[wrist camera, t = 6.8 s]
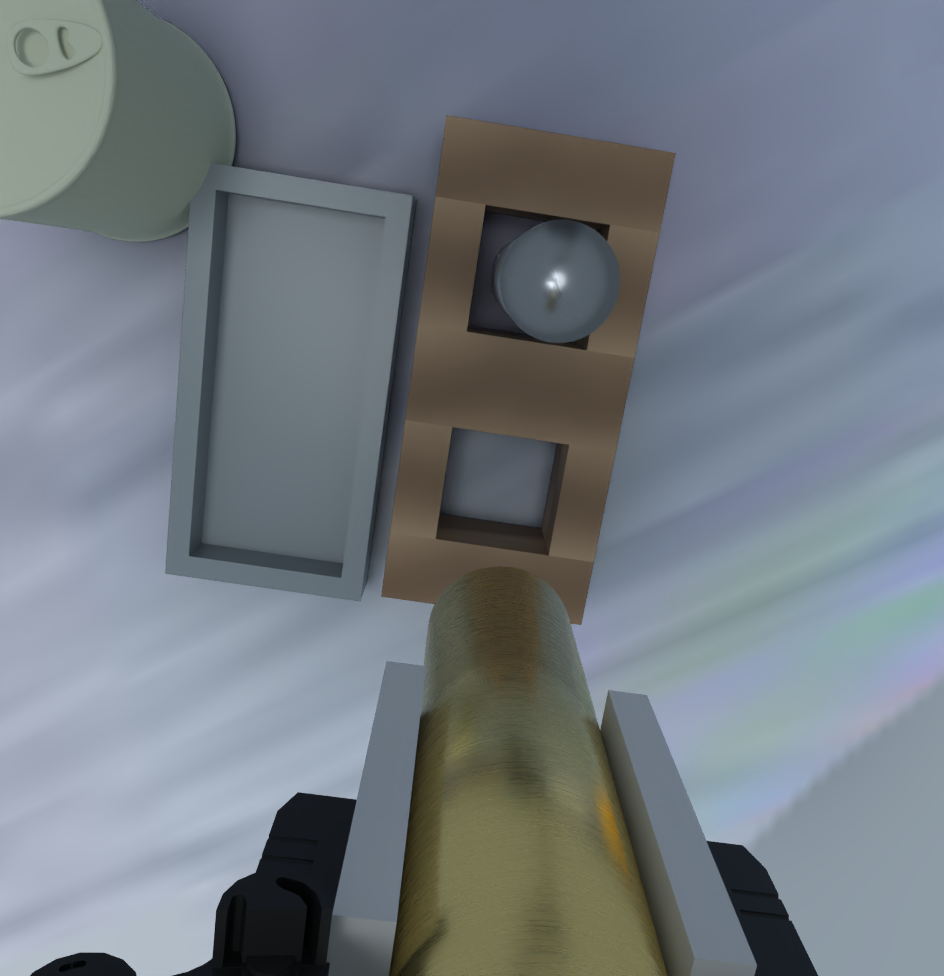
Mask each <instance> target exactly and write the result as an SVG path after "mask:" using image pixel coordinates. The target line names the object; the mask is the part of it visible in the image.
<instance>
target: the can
mask: <svg viewBox="0 0 944 976" xmlns="http://www.w3.org/2000/svg"><path fill="white" fill-rule="evenodd" d="M235 144H236V129H235V118H234V112H233V108H232V104H231V100H230V97H229V94H228V91H227V88H226V86H225V84H224V81H223V79H222V78H221V76H220V74H219V72H218V70H217V68H216V67H215V65H214V64H213V62H212V61H211V59H210V58H209V57H208V56H207V54H206V53H205V52H204V51H203V49H202V48H201V47H200V46H199V45H198V44H197V43H196V42H195V41H194V40H193V39H191V38H190V37H189V36H188V35H187V34H185V33H184V32H183V31H181V30H180V29H178V28H177V27H175V26H174V25H172V24H170V23H168V22H166V21H165V20H163V19H160V18H158V17H157V16H155V15H154V14H153V13H151V12H150V11H149V10H148V9H146V8H145V7H144V6H143V5H141V4H140V3H139V2H137V1H136V0H0V219H6V220H14V221H22V222H29V223H36V224H43V225H50V226H57V227H64V228H71V229H78V230H84V231H89V232H94V233H97V234H99V235H102V236H105V237H108V238H112V239H116V240H121V241H129V242H145V241H154V240H159V239H163V238H166V237H169V236H172V235H175V234H177V233H179V232H181V231H183V230H185V229H187V228H188V227H189V213H190V201H191V200H192V199H193V198H194V196H195V195H196V194H197V192H198V191H199V189H200V187H201V186H202V184H203V182H204V180H205V178H206V176H207V173H208V171H209V168H210V166H211V163H214V164H221V165H227V166H232V164H233V159H234V154H235Z"/></svg>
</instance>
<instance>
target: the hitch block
mask: <svg viewBox="0 0 944 976" xmlns="http://www.w3.org/2000/svg"><path fill="white" fill-rule="evenodd" d="M674 158H675V153H671V152H665V151H659V150H653V149H647V148H641V147H635V146H629V145H623V144H617V143H611V142H605V141H599V140H593V139H587V138H581V137H575V136H569V135H563V134H557V133H551V132H545V131H539V130H533V129H527V128H521V127H515V126H509V125H503V124H497V123H491V122H485V121H479V120H472V119H466V118H460V117H454V116H448V115H447V116H446V123H445V130H444V138H443V145H442V152H441V160H440V167H439V175H438V182H437V189H436V197H435V204H434V211H433V219H432V226H431V234H430V241H429V248H428V256H427V263H426V270H425V278H424V285H423V293H422V300H421V307H420V315H419V322H418V329H417V337H416V344H415V352H414V359H413V366H412V374H411V381H410V388H409V396H408V403H407V411H406V418H405V425H404V433H403V440H402V447H401V455H400V462H399V470H398V477H397V484H396V492H395V499H394V506H393V514H392V521H391V528H390V536H389V543H388V551H387V558H386V565H385V573H384V580H383V587H382V595H381V596H382V597H389V598H396V599H403V600H410V601H417V602H424V603H431V604H435V603H436V602H437V600H438V598H439V597H440V596H441V594H442V593H443V592H444V591H445V590H446V588H447V587H448V586H449V585H451V584H452V583H453V582H454V581H456V580H457V579H459V578H460V577H462V576H464V575H466V574H468V573H470V572H472V571H475V570H478V569H482V568H487V567H498V566H502V567H512V568H517V569H521V570H524V571H527V572H529V573H532V574H534V575H536V576H537V577H539V578H541V579H542V580H544V581H545V582H546V583H547V584H548V585H550V586H551V587H552V588H553V589H554V591H555V592H556V593H557V594H558V596H559V597H560V599H561V600H562V602H563V604H564V606H565V608H566V611H567V614H568V617H569V620H570V623H571V624H578V625H581V623H582V618H583V613H584V608H585V603H586V598H587V593H588V588H589V583H590V578H591V573H592V568H593V563H594V558H595V553H596V548H597V543H598V538H599V533H600V528H601V523H602V518H603V513H604V508H605V503H606V498H607V493H608V488H609V483H610V478H611V473H612V468H613V463H614V458H615V453H616V448H617V443H618V438H619V433H620V428H621V423H622V418H623V413H624V408H625V403H626V398H627V393H628V388H629V383H630V378H631V373H632V368H633V363H634V358H635V353H636V348H637V343H638V338H639V333H640V328H641V323H642V318H643V313H644V308H645V303H646V298H647V293H648V288H649V283H650V278H651V273H652V268H653V263H654V258H655V253H656V248H657V243H658V238H659V233H660V228H661V223H662V218H663V213H664V208H665V203H666V198H667V193H668V188H669V183H670V178H671V173H672V168H673V163H674ZM485 212H491V213H498V214H504V215H510V216H516V217H522V218H528V219H535V220H541V221H552V220H572V221H576V222H580V223H582V224H585V225H587V226H589V227H591V228H593V229H596V231H597V232H598V233H599V234H600V235H601V236H602V237H603V238H604V239H605V240H606V241H607V242H608V244H609V245H610V246H611V248H612V250H613V252H614V254H615V256H616V259H617V262H618V266H619V271H620V288H619V294H618V298H617V301H616V303H615V306H614V308H613V310H612V312H611V314H610V315H609V316H608V318H607V319H606V321H605V322H604V323H603V324H602V325H601V326H600V327H599V328H597V329H596V330H595V331H594V332H592V333H591V334H589V335H588V336H585V337H583V338H581V339H578V340H576V341H575V342H566V343H551V342H546V341H542V340H539V339H536V338H534V337H532V336H530V335H525V334H519V333H512V332H506V331H499V330H493V329H487V328H480V327H474V326H468V320H469V313H470V306H471V300H472V293H473V286H474V280H475V273H476V266H477V260H478V253H479V246H480V240H481V233H482V226H483V220H484V213H485ZM452 427H455V428H462V429H468V430H475V431H482V432H488V433H495V434H502V435H508V436H515V437H521V438H528V439H535V440H541V441H548V442H554V443H557V445H556V451H555V456H554V462H553V467H552V473H551V478H550V484H549V489H548V495H547V500H546V506H545V511H544V517H543V522H542V528H534V527H527V526H521V525H514V524H507V523H500V522H493V521H487V520H480V519H473V518H466V517H459V516H453V515H446V514H439V513H440V506H441V500H442V493H443V486H444V480H445V473H446V466H447V460H448V453H449V446H450V440H451V433H452Z"/></svg>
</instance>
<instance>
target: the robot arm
mask: <svg viewBox="0 0 944 976" xmlns="http://www.w3.org/2000/svg"><path fill="white" fill-rule="evenodd" d="M425 669H426V666H419V665H411V664H404V663H396V662H388V661H387V662H386V667H385V671H384V676H383V681H382V685H381V690H380V694H379V699H378V704H377V708H376V713H375V718H374V722H373V727H372V732H371V736H370V741H369V746H368V750H367V755H366V760H365V764H364V769H363V774H362V778H361V783H360V788H359V792H358V797H357V800H355V799H347V798H339V797H331V796H323V795H314V794H306V793H297V794H296V795H295V796H293V797H292V798H291V799H290V800H289V801H288V802H287V803H286V804H285V805H284V806H283V807H282V808H280V809H279V810H278V811H277V814H276V817H275V820H274V823H273V825H272V828H271V831H270V834H269V839H268V840H267V842H266V845H265V848H264V851H263V854H262V858H261V859H260V862H259V865H258V868H257V870H256V873H254V874H251V875H249V876H247V877H245V878H242V879H240V880H238V881H236V882H235V883H234V884H233V885H232V886H231V887H230V888H229V889H228V890H227V891H226V892H225V893H223V895H222V898H221V900H220V903H219V905H218V907H217V910H216V921H215V934H214V947H213V958H212V959H211V960H210V961H208V962H207V963H205V964H204V965H202V966H200V967H197V968H195V969H193V970H191V971H189V972H185V973H181V974H177V975H173V976H389V972H390V965H391V958H392V951H393V944H394V937H395V930H396V923H397V915H398V906H399V897H400V888H401V880H402V871H403V862H404V853H405V845H406V836H407V827H408V818H409V810H410V801H411V792H412V783H413V775H414V766H415V757H416V748H417V740H418V731H419V722H420V713H421V705H422V696H423V687H424V678H425ZM600 732H601V736H602V740H603V743H604V747H605V750H606V754H607V758H608V761H609V765H610V768H611V772H612V776H613V779H614V783H615V787H616V790H617V794H618V797H619V801H620V805H621V808H622V812H623V815H624V819H625V823H626V826H627V830H628V833H629V837H630V841H631V844H632V848H633V852H634V855H635V859H636V862H637V866H638V870H639V873H640V877H641V880H642V884H643V888H644V891H645V895H646V898H647V902H648V906H649V909H650V913H651V917H652V920H653V924H654V927H655V931H656V935H657V938H658V942H659V945H660V949H661V953H662V956H663V960H664V963H665V967H666V971H667V974H668V976H818V975H817V972H816V970H815V969H814V966H813V964H812V962H811V960H810V958H809V956H808V954H807V952H806V950H805V948H804V946H803V944H802V942H801V940H800V938H799V936H798V934H797V932H796V929H795V927H794V925H793V923H792V921H789V918H788V917H789V915H788V913H787V911H786V909H785V907H784V905H783V903H782V901H781V900H780V899H778V893H777V890H776V889H775V886H774V884H773V882H772V881H771V878H770V876H769V874H768V872H767V870H766V869H765V868H764V867H763V866H762V865H761V863H760V862H759V861H758V860H757V859H756V858H755V857H754V856H753V855H752V854H751V853H750V852H749V851H748V850H747V849H746V848H745V847H744V846H743V845H735V844H727V843H719V842H711V841H706V839H705V836H704V834H703V832H702V829H701V827H700V824H699V822H698V819H697V817H696V814H695V812H694V810H693V807H692V805H691V802H690V800H689V797H688V795H687V792H686V790H685V787H684V785H683V783H682V780H681V778H680V775H679V773H678V770H677V768H676V765H675V763H674V760H673V758H672V756H671V753H670V751H669V748H668V746H667V743H666V741H665V738H664V736H663V734H662V731H661V729H660V726H659V724H658V721H657V719H656V716H655V714H654V711H653V709H652V707H651V704H650V702H649V699H648V697H647V695H641V694H634V693H626V692H618V691H611V690H608V695H607V700H606V705H605V709H604V714H603V719H602V724H601V729H600ZM30 976H136V972H135V971H134V970H133V969H132V968H131V967H130V966H129V965H128V964H127V963H126V962H125V961H124V960H123V959H120V958H117V957H114V956H111V955H109V954H106V953H77V954H74V955H70V956H66V957H63V958H59V959H56V960H54V961H52V962H51V963H49V964H47V965H45V966H43V967H42V968H40V969H38V970H36V971H35V972H33V973H32V974H31V975H30Z"/></svg>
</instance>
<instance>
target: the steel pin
mask: <svg viewBox="0 0 944 976" xmlns="http://www.w3.org/2000/svg"><path fill="white" fill-rule="evenodd" d="M490 279H491V288H492V291H493V294H494V296H495V298H496V300H497V302H498V303H499V304H500V305H501V307H502V308H503V309H504V310H505V311H506V313H507V314H508V315H509V316H510V318H511V319H512V320H513V321H514V322H515V324H516V325H517V326H518V327H519V328H521V329H522V330H523V331H524V332H526V333H527V334H528V335H530V336H532V337H534V338H536V339H539V340H542V341H546V342H551V343H566V342H572V341H575V340H578V339H581V338H583V337H585V336H588V335H589V334H591V333H592V332H594V331H595V330H596V329H597V328H599V327H600V326H601V325H602V324H603V323H604V322H605V321H606V319H607V318H608V316H609V315H610V314H611V312H612V310H613V308H614V306H615V303H616V301H617V298H618V294H619V288H620V271H619V266H618V262H617V259H616V256H615V254H614V252H613V250H612V248H611V246H610V245H609V244H608V242H607V241H606V240H605V239H604V238H603V237H602V236H601V235H600V234H599V233H598V232H597V231H595V230H594V229H593V228H591V227H589V226H587V225H585V224H582V223H580V222H576V221H572V220H552V221H547V222H544V223H541V224H538V225H536V226H534V227H532V228H531V229H529V230H528V231H526V232H525V233H523V234H522V235H520V236H519V237H517V238H516V239H514V240H513V241H511V242H510V243H509V244H507V245H506V246H505V247H504V248H503V249H502V250H501V251H500V252H499V253H498V255H497V256H496V258H495V260H494V263H493V265H492V269H491V276H490Z"/></svg>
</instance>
